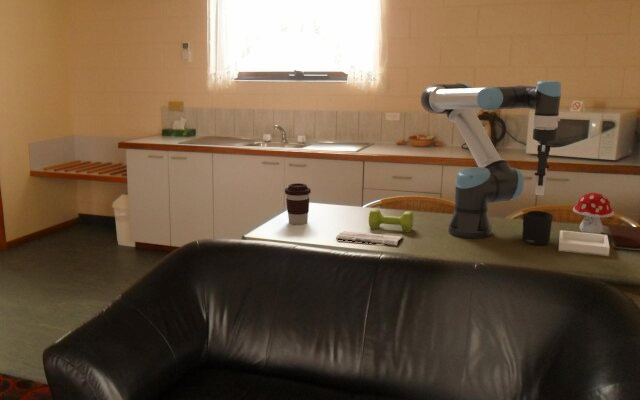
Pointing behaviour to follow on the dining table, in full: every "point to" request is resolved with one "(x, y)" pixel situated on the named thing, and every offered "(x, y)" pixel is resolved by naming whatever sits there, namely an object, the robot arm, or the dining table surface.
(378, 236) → the newspaper
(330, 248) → the dining table surface
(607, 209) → the decorative mushroom
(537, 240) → the pen holder
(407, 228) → the dumbbell
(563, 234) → the tray
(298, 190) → the coffee cup
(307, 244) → the dining table surface
